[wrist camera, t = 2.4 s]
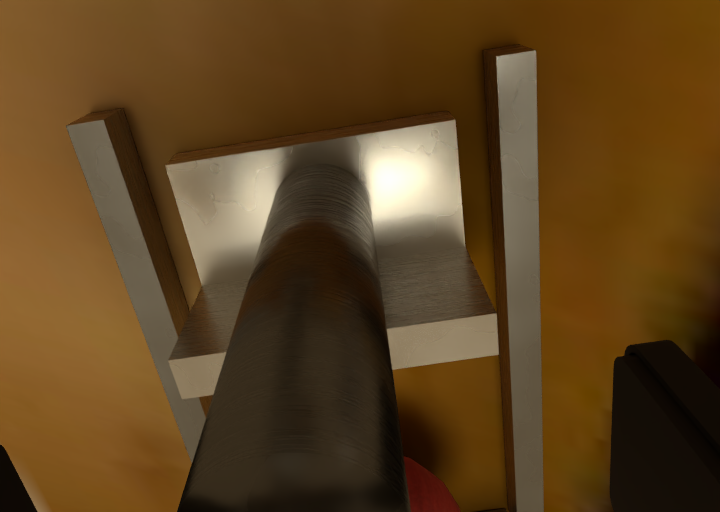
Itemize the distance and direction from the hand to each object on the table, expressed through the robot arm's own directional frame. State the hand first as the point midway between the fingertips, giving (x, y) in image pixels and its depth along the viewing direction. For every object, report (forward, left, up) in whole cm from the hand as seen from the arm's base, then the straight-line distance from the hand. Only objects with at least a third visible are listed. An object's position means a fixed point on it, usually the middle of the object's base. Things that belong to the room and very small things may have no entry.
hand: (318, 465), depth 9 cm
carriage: (-1, 0, -10) cm, 10 cm away
